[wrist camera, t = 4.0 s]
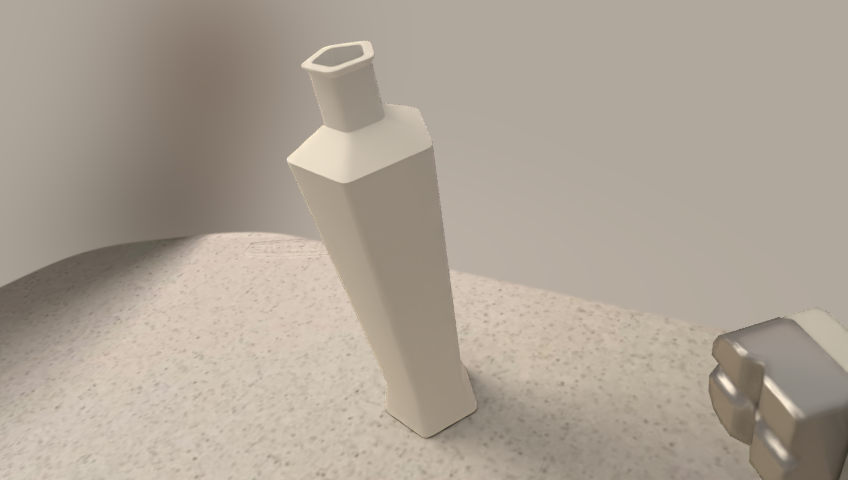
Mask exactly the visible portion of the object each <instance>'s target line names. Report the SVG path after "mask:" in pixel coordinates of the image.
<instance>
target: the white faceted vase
mask: <svg viewBox="0 0 848 480" xmlns="http://www.w3.org/2000/svg"><path fill="white" fill-rule="evenodd" d="M373 58H374V51H373V48H372V45H371V43H370V42H369V41H359V42H352V43H344V44H337V45H331V46H326V47H324V48H322V49H320V50H319V51H318V52H316V53H315V54H314V55H312V56H311V57H310V58H308V59H307V60H306V61H305V62H303V63H302V64H301V67H302V68H303V69H304V70H306V71H307V72H309V75H310V79H311V82H312V85H313V88H314V91H315V95H316V98H317V101H318V105H319V108H320V111H321V114H322V117H323V121H324V124H323V125H322V126H321V127H320V128H319V129H318V130H317V131H316V132H315V133H314V134H313V135H312V136H310V137H309V138H308V139H307V140H306V141H305V142H304V143H303V144H302V145H301V146H300V147H299V148H298V149H297V150H296V151H294V152H293V153H292V154H291V155H290V156H289V157H288V158H287V162H288V164H289V166H290V169H291V171H292V173H293V175H294V178H295V180H296V182H297V184H298V186H299V189H300V191H301V193H302V195H303V198H304V200H305V202H306V204H307V206H308V209H309V211H310V213H311V215H312V217H313V220H314V222H315V224H316V226H317V229H318V231H319V233H320V235H321V238H322V240H323V242H324V244H325V247H326V249H327V251H328V253H329V255H330V258H331V260H332V262H333V264H334V267H335V269H336V271H337V273H338V275H339V278H340V280H341V282H342V284H343V287H344V289H345V291H346V293H347V296H348V298H349V300H350V302H351V304H352V307H353V309H354V311H355V313H356V316H357V318H358V320H359V322H360V324H361V327H362V329H363V331H364V333H365V336H366V338H367V340H368V342H369V344H370V347H371V349H372V351H373V353H374V356H375V358H376V360H377V362H378V365H379V367H380V369H381V371H382V373H383V376H384V378H385V380H386V382H387V384H386V407H385V408H386V411H387V412H388V413H389V414H390V415H392V416H393V417H395V418H396V419H398V420H399V421H400V422H402V423H403V424H405V425H406V426H408V427H409V428H410V429H412V430H413V431H415V432H416V433H417V434H419V435H420V436H422V437H424V438H428V437H431V436H433V435H434V434H436V433H438V432H440V431H441V430H443V429H445V428H446V427H448V426H450V425H452V424H453V423H455V422H457V421H459V420H460V419H462V418H464V417H465V416H467V415H469V414H471V413H472V412H474V411H475V410H476V409H477V402H476V398H475V395H474V392H473V389H472V386H471V383H470V379H469V376H468V373H467V370H466V368H465V366H464V365H463V363H462V361H461V360H460V352H459V344H458V337H457V329H456V321H455V313H454V305H453V298H452V290H451V282H450V274H449V267H448V259H447V251H446V243H445V236H444V228H443V221H442V213H441V205H440V197H439V190H438V181H437V174H436V166H435V158H434V150H433V142H432V140H431V137H430V135H429V133H428V130H427V128H426V126H425V123H424V121H423V119H422V116H421V114H420V111H419V109H418V108H416V107H409V106H400V105H391V104H383V103H382V101H381V97H380V93H379V89H378V85H377V81H376V77H375V72H374V68H373V64H372V60H373Z"/></svg>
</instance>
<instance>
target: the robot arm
mask: <svg viewBox="0 0 848 480" xmlns="http://www.w3.org/2000/svg"><path fill="white" fill-rule="evenodd" d="M712 356H713V357H714V358H715V359H716V361H717V362H718V363H719V364H718V365H717V367H716V368H715V369H714V370H713V371H712V373H711V374H710V375H709V395H710V398H711V402H712V405H713V409H714V411H715V413H716V414H717V416H718V418H719V420H720V422H721V424H722V425H723V426H724V428H725V429H726V431H727V432H728V433H729V435H730V436H731V437H733V438H735V439H737V440H739V441H741V442H743V443H745V444H747V445H749V446H750V450H749V462H750V464H751V465H752V466H753V468H754V469H755V470H756V472H757V473H758V474H759V476H760V477H761V478H762V480H848V329H846V328H845V327H844V326H843V325H842V324H841V323H840V322H839V321H837V320H836V319H835V318H834V317H833V316H832V315H831V314H830V313H829V312H827V311H826V310H823V309H821V308H818V307H815V308H812V309H808V310H804V311H801V312H798V313H794V314H791V315H788V316H784V317H782V318H780V317H778V318H775V319H771V320H768V321H765V322H762V323H758V324H755V325H752V326H749V327H745V328H742V329H739V330H736V331H732V332H729V333H726V334H723V335H719V336H718V337H717V338H716V339H715V341H714V342H713V348H712Z"/></svg>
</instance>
